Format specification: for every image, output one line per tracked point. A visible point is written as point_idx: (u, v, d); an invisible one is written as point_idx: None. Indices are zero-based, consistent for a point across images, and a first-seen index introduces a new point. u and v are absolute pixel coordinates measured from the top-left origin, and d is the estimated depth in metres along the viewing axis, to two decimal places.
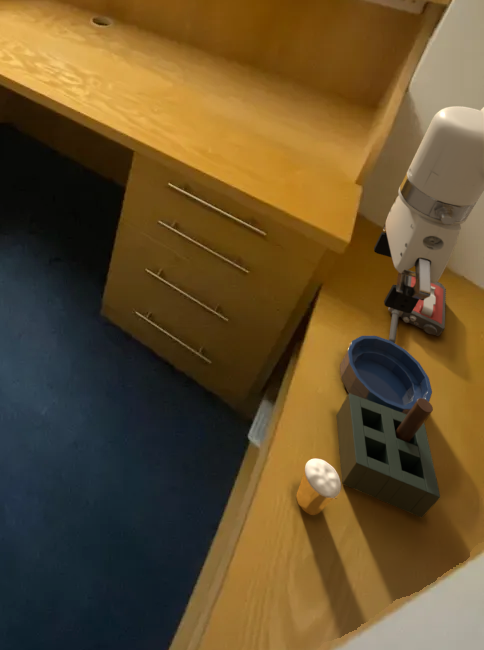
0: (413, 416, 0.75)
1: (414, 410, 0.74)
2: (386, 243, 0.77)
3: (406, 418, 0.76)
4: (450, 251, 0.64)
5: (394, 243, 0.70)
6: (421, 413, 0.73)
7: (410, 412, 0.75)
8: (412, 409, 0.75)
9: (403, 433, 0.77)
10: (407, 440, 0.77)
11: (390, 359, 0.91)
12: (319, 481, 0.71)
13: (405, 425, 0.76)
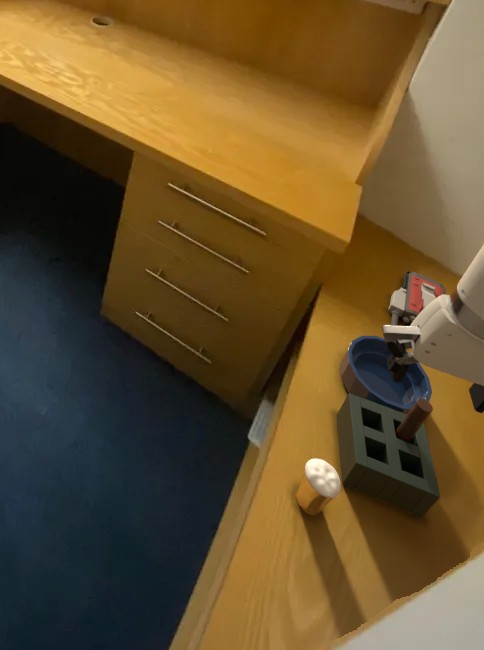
0: (413, 416, 0.75)
1: (414, 410, 0.74)
2: None
3: (406, 418, 0.76)
4: None
5: (477, 373, 0.65)
6: (421, 413, 0.73)
7: (410, 412, 0.75)
8: (412, 409, 0.75)
9: (403, 433, 0.77)
10: (407, 440, 0.77)
11: None
12: (319, 481, 0.71)
13: (405, 425, 0.76)
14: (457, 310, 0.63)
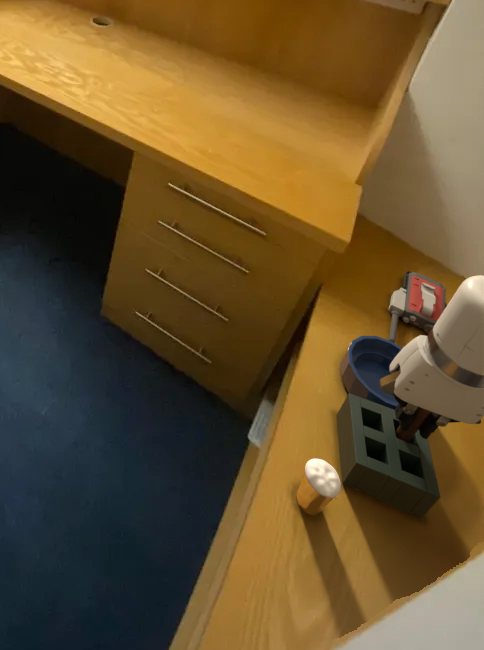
0: None
1: None
2: None
3: None
4: None
5: (453, 410, 0.69)
6: (421, 413, 0.73)
7: None
8: None
9: (403, 433, 0.77)
10: (407, 440, 0.77)
11: (390, 359, 0.91)
12: (319, 481, 0.71)
13: None
14: (433, 352, 0.67)
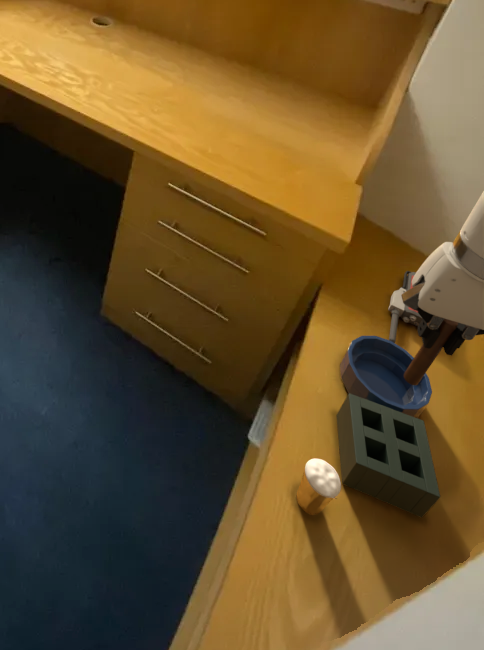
0: None
1: None
2: None
3: None
4: None
5: (482, 318, 0.65)
6: (446, 328, 0.70)
7: None
8: None
9: (426, 353, 0.73)
10: (430, 360, 0.73)
11: (390, 359, 0.91)
12: (319, 481, 0.71)
13: None
14: (461, 254, 0.64)
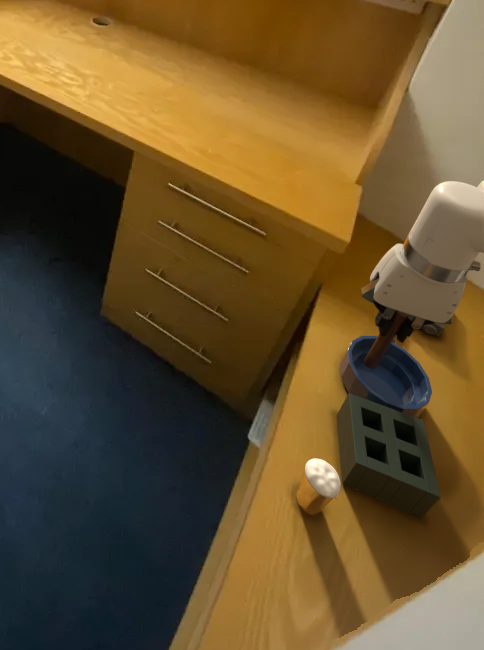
0: None
1: None
2: None
3: None
4: None
5: (426, 310, 0.76)
6: (398, 318, 0.80)
7: None
8: None
9: (382, 340, 0.84)
10: (385, 347, 0.84)
11: (390, 359, 0.91)
12: (319, 481, 0.71)
13: None
14: (408, 254, 0.74)
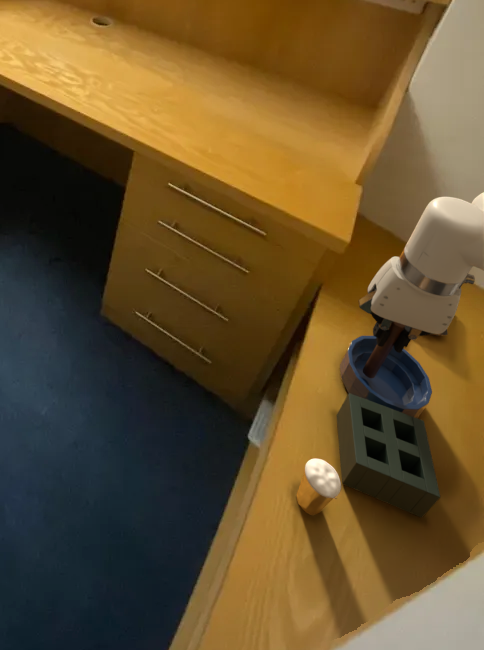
0: None
1: None
2: None
3: None
4: None
5: (422, 321, 0.78)
6: (395, 329, 0.82)
7: None
8: None
9: (380, 350, 0.86)
10: (383, 357, 0.86)
11: (390, 359, 0.91)
12: (319, 481, 0.71)
13: None
14: (404, 267, 0.76)
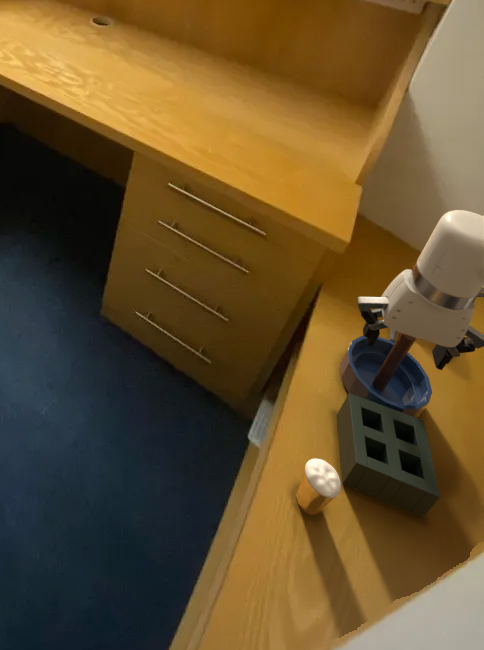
0: (398, 346, 0.83)
1: (399, 340, 0.83)
2: None
3: (392, 349, 0.85)
4: None
5: (435, 335, 0.77)
6: (405, 342, 0.82)
7: (396, 343, 0.84)
8: (397, 340, 0.83)
9: (390, 363, 0.85)
10: (393, 369, 0.85)
11: None
12: (319, 481, 0.71)
13: (391, 355, 0.85)
14: (416, 281, 0.76)
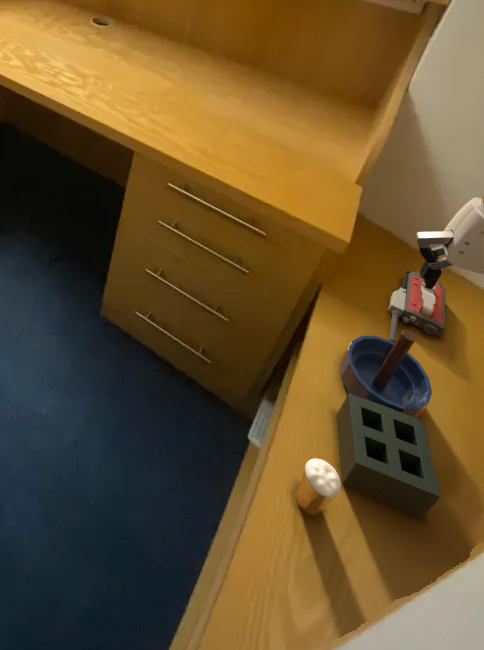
0: (398, 346, 0.83)
1: (399, 340, 0.83)
2: None
3: (392, 349, 0.85)
4: None
5: None
6: (405, 342, 0.82)
7: (396, 343, 0.84)
8: (397, 340, 0.83)
9: (390, 363, 0.85)
10: (393, 369, 0.85)
11: None
12: (319, 481, 0.71)
13: (391, 355, 0.85)
14: None
